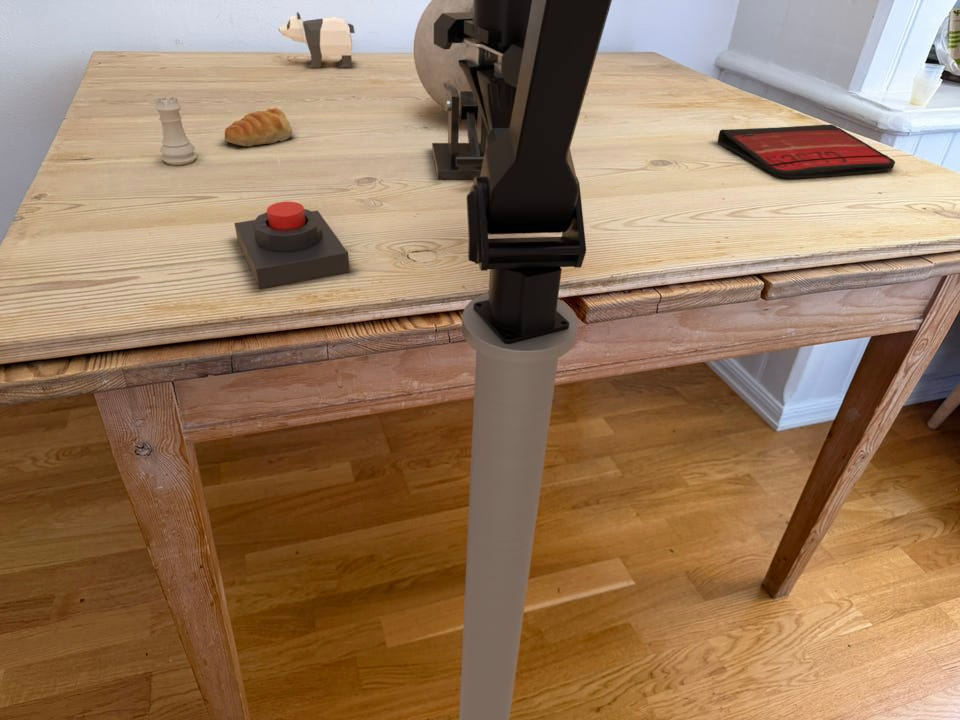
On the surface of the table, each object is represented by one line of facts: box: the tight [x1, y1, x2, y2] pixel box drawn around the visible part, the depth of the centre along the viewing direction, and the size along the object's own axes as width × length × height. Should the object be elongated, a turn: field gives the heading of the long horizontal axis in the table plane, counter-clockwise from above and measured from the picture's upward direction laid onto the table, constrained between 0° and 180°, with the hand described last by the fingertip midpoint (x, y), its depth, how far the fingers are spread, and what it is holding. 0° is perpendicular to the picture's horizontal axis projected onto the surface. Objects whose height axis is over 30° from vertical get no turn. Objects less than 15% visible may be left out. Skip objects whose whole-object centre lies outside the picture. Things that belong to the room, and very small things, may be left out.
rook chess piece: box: [154, 95, 197, 166], centre depth 89 cm, size 4×4×8 cm
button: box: [266, 201, 306, 230], centre depth 68 cm, size 4×4×2 cm
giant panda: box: [278, 11, 356, 69], centre depth 134 cm, size 15×6×10 cm, turn 100°
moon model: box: [413, 0, 473, 117], centre depth 107 cm, size 20×20×20 cm
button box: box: [233, 208, 351, 290], centre depth 70 cm, size 11×9×4 cm
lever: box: [456, 91, 484, 166], centre depth 88 cm, size 12×5×2 cm, turn 7°
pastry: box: [224, 107, 293, 148], centre depth 98 cm, size 9×7×4 cm
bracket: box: [431, 87, 489, 180], centre depth 92 cm, size 11×9×10 cm
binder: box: [717, 124, 896, 179], centre depth 103 cm, size 16×2×21 cm
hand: (497, 141), depth 66 cm, fingers closed
